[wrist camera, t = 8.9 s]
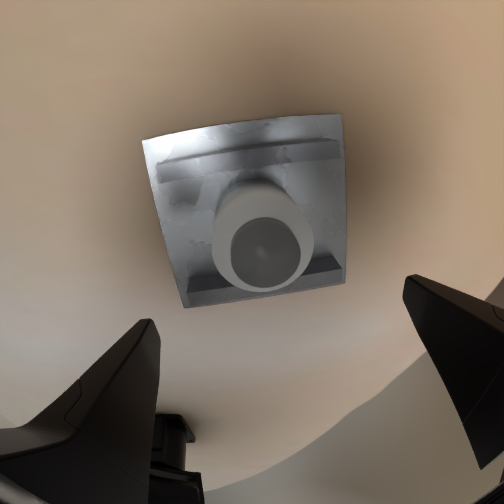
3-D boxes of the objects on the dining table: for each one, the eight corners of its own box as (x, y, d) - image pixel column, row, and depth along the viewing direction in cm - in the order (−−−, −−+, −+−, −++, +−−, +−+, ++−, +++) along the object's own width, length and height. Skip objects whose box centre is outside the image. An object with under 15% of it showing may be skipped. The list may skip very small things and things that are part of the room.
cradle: (342, 279, 21) (354, 297, 19) (185, 303, 21) (181, 325, 19) (337, 113, 16) (353, 114, 14) (144, 140, 16) (132, 143, 14)
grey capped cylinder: (296, 247, 19) (320, 293, 14) (222, 259, 19) (221, 309, 14) (291, 173, 17) (317, 197, 12) (208, 185, 17) (200, 214, 12)
